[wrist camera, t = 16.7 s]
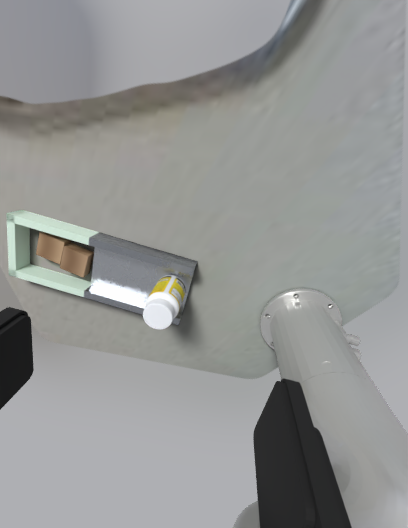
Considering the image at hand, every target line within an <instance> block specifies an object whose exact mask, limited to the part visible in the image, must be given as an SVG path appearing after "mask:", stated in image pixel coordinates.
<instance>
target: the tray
mask: <svg viewBox="0 0 408 528" xmlns="http://www.w3.org/2000/svg"><path fill="white" fill-rule="evenodd" d="M30 228H32V229H36V230H39V231H42V232H46V233H49V234H52V235H56V236H59V237H63V238H66V239H69V240H73V241H76V242H80V243H83V244H86V245H89V237H91V236H93V235H95V234H97V233H99V232H96V231H93V230H89V229H86V228H82V227H79V226H76V225H72V224H69V223H66V222H62V221H59V220H55V219H52V218H49V217H45V216H42V215H38V214H35V213H32V212H28V211H25V210H19V211H15V212H10V213H7V238H8V262H9V275H10V276H14V277H17V278H20V279H24V280H27V281H30V282H34V283H37V284H41V285H44V286H47V287H51V288H54V289H58V290H61V291H64V292H68V293H71V294H74V295H78V296H81V297H84V291H85V290H86V289H87V288H88V287H89V286H91V282H90V281H86V280H83V279H79V278H76V277H73V276H69V275H66V274H62V273H59V272H56V271H52V270H49V269H46V268H42V267H39V266H35V265H32V264H30Z"/></svg>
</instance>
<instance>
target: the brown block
mask: <svg viewBox="0 0 408 528" xmlns="http://www.w3.org/2000/svg"><path fill="white" fill-rule="evenodd" d="M93 257H94V252H93V251H90V250H88V249H85V248H83V247H81V246H78V245H76V244H73V243H70V244H68V245H66V246H64V249H63V254H62V259H61V264H60V268H61V269H64V270H66V271H68V272H71V273H73V274H76V275H78V276H81V277H85V276H86V275H87V274H89V273H90V269H91V265H92V261H93Z"/></svg>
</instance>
